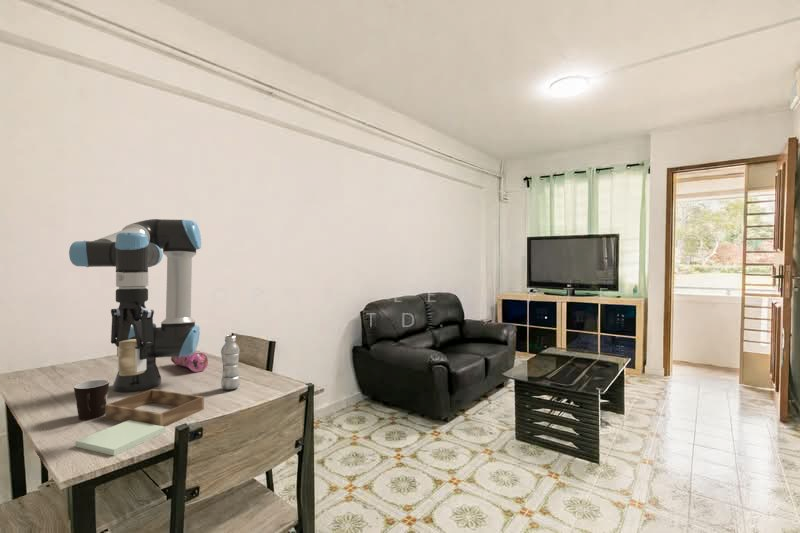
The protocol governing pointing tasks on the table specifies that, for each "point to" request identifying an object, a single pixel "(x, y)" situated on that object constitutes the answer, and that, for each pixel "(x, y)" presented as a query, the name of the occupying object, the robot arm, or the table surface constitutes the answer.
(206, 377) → the table surface
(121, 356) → the light wood cylinder
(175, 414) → the walnut frame
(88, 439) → the mint green tile
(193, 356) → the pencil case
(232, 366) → the plastic bottle
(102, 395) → the coffee mug
